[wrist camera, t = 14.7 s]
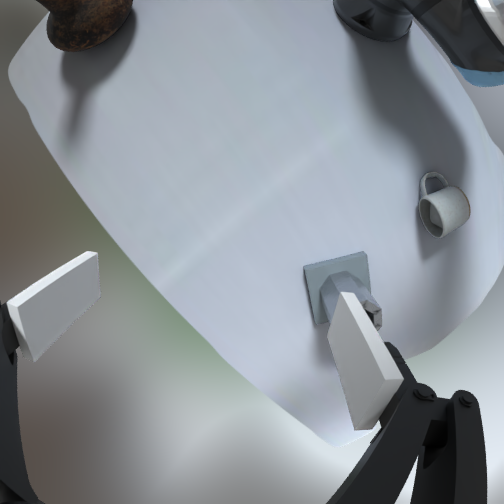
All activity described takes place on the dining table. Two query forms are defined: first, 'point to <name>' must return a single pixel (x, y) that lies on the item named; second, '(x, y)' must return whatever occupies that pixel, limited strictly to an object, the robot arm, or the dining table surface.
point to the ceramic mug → (443, 208)
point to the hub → (351, 285)
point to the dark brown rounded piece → (84, 21)
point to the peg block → (322, 270)
